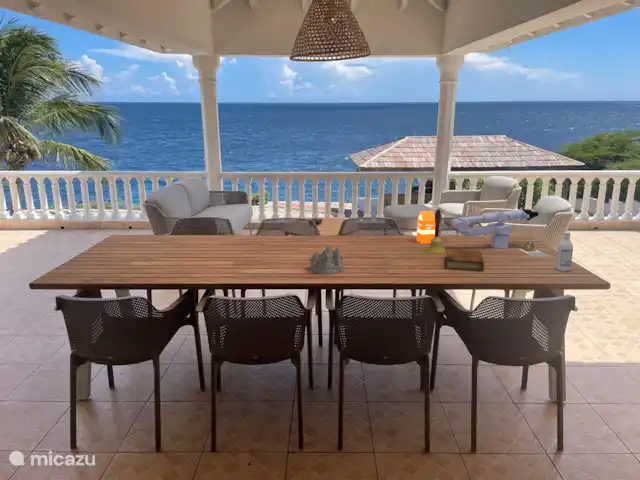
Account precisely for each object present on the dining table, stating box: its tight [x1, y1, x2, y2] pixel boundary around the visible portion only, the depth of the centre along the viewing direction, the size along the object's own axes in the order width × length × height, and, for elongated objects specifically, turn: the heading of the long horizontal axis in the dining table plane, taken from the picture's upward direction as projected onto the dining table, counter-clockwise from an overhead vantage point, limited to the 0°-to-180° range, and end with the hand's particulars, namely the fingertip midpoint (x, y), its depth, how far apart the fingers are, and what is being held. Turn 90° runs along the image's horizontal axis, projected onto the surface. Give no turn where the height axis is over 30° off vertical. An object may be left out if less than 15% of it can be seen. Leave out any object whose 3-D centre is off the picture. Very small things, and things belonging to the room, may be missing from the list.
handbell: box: [425, 209, 447, 255], centre depth 296 cm, size 12×12×25 cm
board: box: [518, 248, 549, 257], centre depth 293 cm, size 10×17×1 cm, turn 7°
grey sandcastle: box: [309, 244, 346, 275], centre depth 261 cm, size 16×16×15 cm
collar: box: [521, 242, 538, 252], centre depth 298 cm, size 6×6×4 cm
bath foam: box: [555, 231, 574, 272], centre depth 262 cm, size 7×7×20 cm
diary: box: [445, 248, 485, 272], centre depth 273 cm, size 23×19×6 cm
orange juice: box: [416, 210, 435, 245], centre depth 319 cm, size 8×9×20 cm
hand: (534, 212), depth 303 cm, fingers open, 7 cm apart
